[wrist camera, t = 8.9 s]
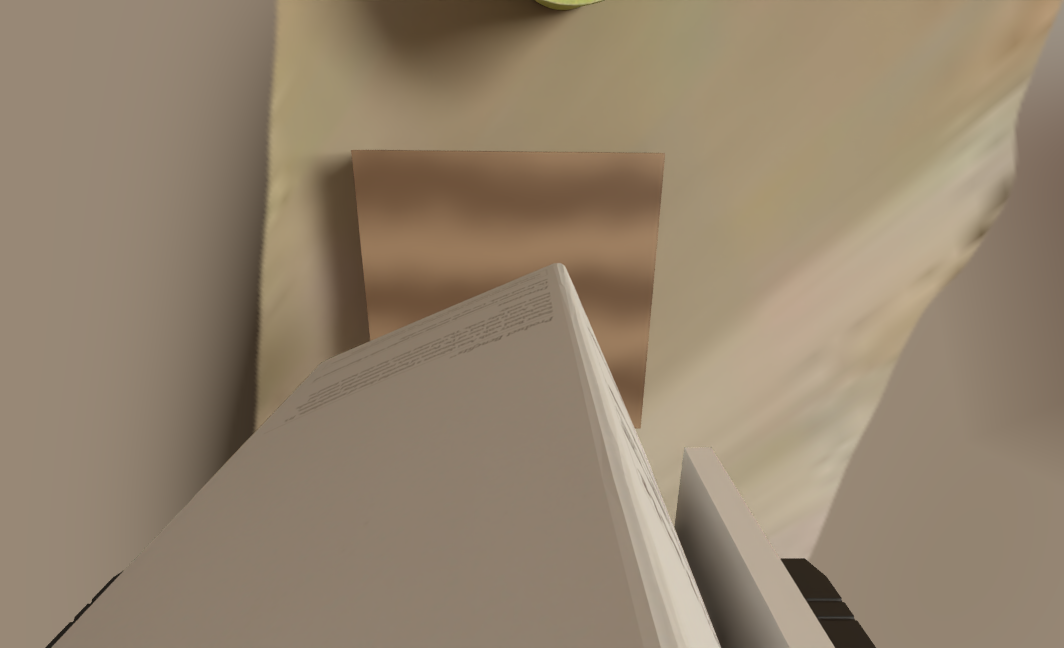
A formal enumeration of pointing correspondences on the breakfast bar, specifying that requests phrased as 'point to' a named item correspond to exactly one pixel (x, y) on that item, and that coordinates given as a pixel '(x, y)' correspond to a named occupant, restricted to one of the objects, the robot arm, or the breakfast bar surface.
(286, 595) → the supplement box
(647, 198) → the walnut riser
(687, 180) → the breakfast bar surface
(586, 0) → the plant pot
